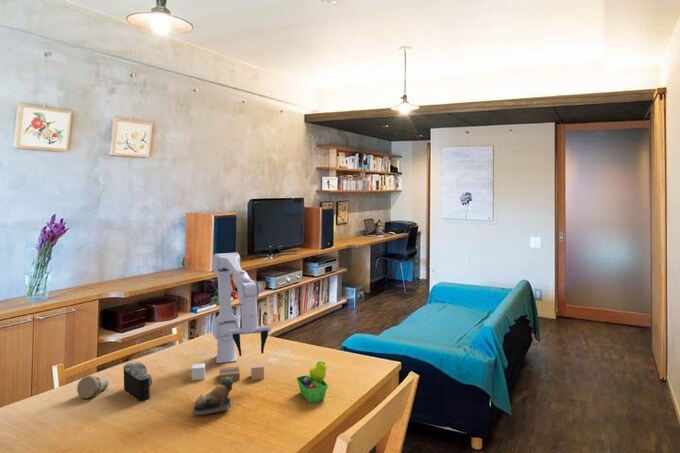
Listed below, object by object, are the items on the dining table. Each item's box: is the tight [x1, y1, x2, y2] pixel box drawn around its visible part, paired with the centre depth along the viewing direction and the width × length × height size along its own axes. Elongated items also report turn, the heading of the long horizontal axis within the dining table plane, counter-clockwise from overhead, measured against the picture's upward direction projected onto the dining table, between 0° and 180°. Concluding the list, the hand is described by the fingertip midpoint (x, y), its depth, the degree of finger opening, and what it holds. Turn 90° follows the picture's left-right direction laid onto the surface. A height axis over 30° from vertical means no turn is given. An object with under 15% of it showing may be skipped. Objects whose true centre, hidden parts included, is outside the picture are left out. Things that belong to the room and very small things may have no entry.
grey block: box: [191, 362, 206, 381], centre depth 162 cm, size 4×4×4 cm
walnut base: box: [218, 365, 241, 383], centre depth 162 cm, size 7×7×3 cm
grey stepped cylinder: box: [76, 375, 109, 399], centre depth 148 cm, size 8×10×10 cm
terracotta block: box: [250, 362, 265, 381], centre depth 163 cm, size 4×4×4 cm
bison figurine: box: [192, 377, 234, 416], centre depth 136 cm, size 12×7×10 cm, turn 114°
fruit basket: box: [296, 360, 329, 404], centre depth 147 cm, size 11×9×11 cm
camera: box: [122, 361, 153, 402], centre depth 149 cm, size 15×7×10 cm, turn 47°
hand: (251, 354), depth 158 cm, fingers open, 7 cm apart
